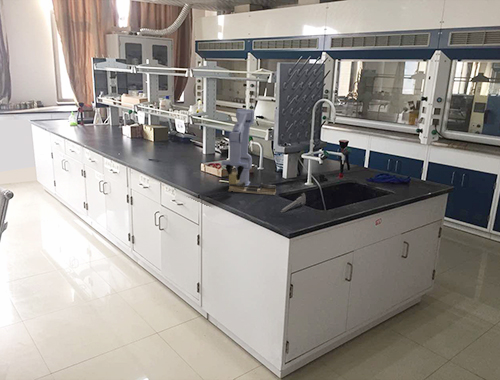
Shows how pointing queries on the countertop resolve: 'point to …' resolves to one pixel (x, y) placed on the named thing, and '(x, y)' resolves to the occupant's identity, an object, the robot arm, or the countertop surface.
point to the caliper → (295, 202)
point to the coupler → (233, 178)
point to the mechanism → (253, 188)
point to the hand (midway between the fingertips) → (234, 179)
